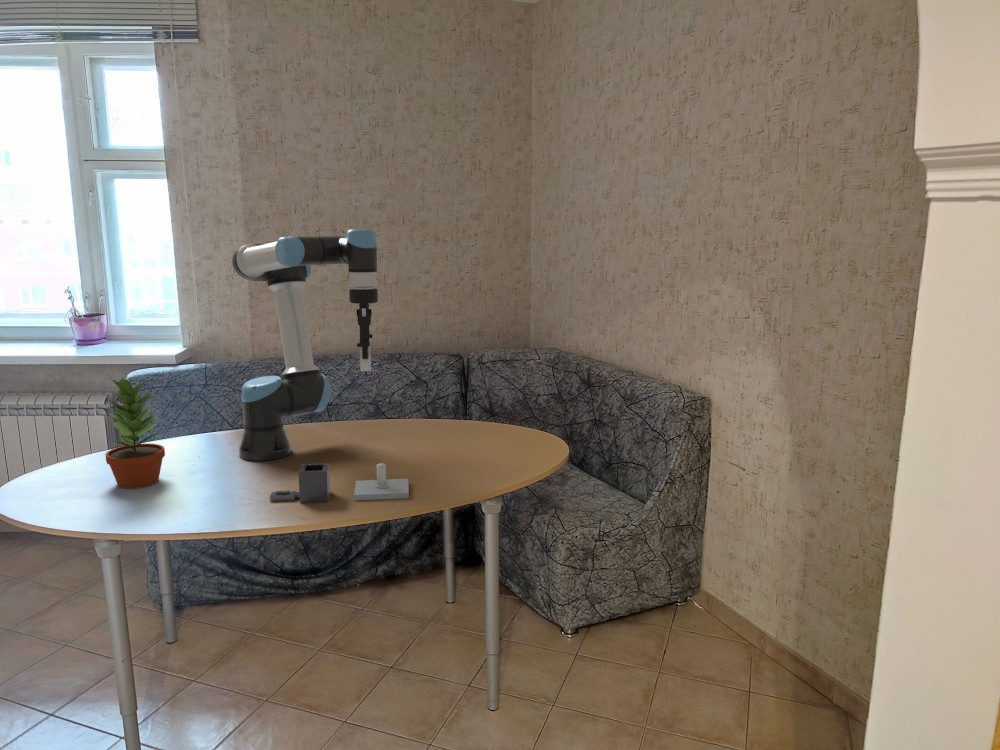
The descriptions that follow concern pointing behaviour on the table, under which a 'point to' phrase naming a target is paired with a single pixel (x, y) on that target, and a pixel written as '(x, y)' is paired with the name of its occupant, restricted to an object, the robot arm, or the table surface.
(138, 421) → the potted plant
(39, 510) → the table surface
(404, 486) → the keeper
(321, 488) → the grey square socket
